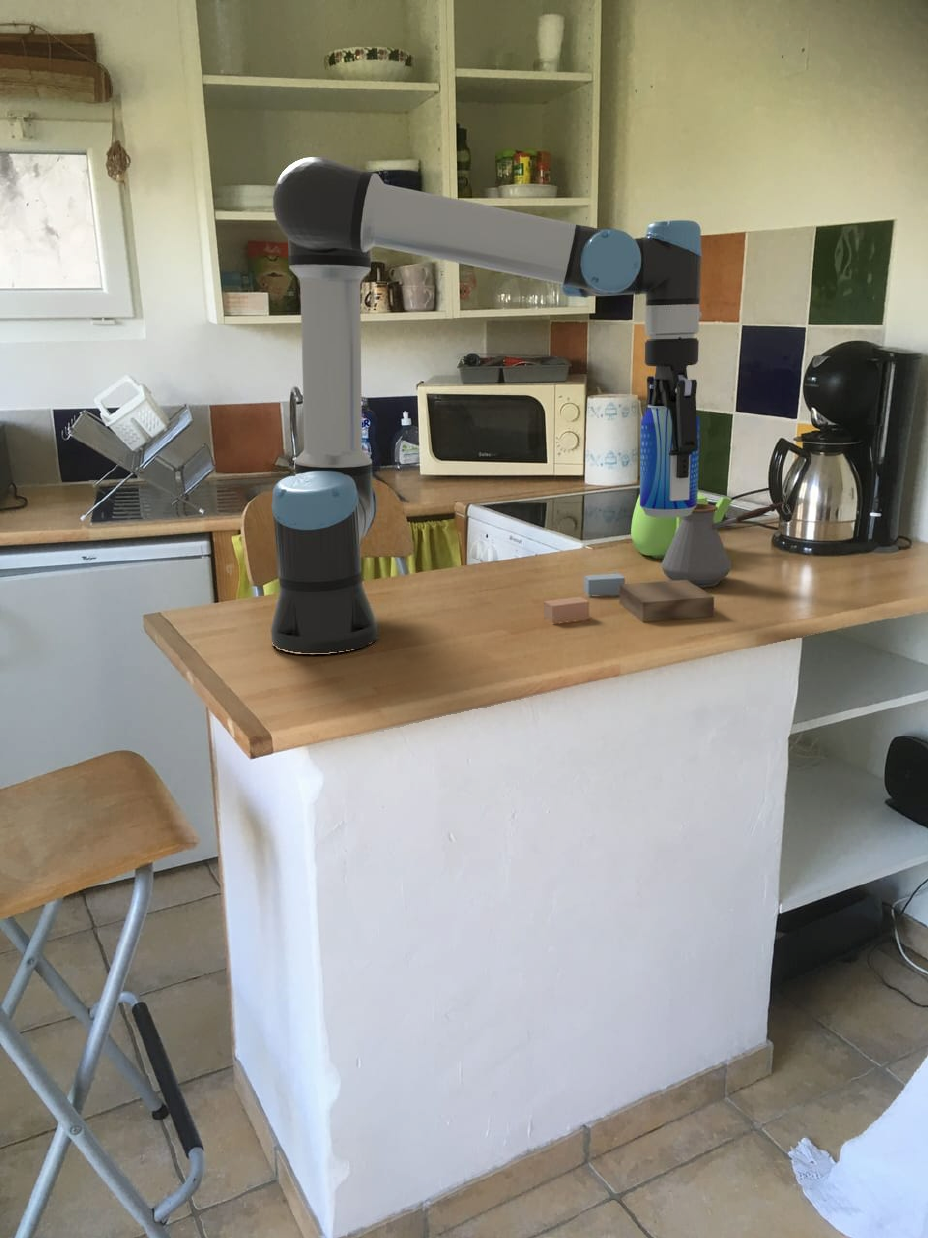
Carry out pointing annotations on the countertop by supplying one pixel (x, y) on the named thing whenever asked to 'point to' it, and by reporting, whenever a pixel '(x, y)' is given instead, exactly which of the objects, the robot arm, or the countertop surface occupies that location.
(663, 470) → the beer can
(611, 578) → the greyblue brick
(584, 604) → the terracotta brick
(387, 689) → the countertop surface
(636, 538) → the teapot
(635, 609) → the walnut slab
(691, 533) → the coffee pot
